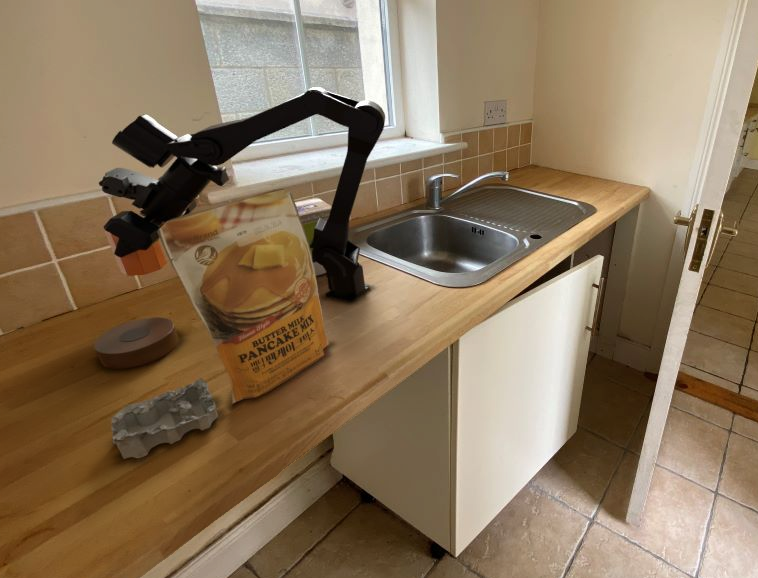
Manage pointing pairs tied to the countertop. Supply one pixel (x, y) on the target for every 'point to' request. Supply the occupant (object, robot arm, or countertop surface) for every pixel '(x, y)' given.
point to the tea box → (313, 221)
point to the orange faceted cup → (139, 258)
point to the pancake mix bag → (251, 287)
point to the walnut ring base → (136, 343)
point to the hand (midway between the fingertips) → (127, 247)
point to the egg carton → (163, 419)
